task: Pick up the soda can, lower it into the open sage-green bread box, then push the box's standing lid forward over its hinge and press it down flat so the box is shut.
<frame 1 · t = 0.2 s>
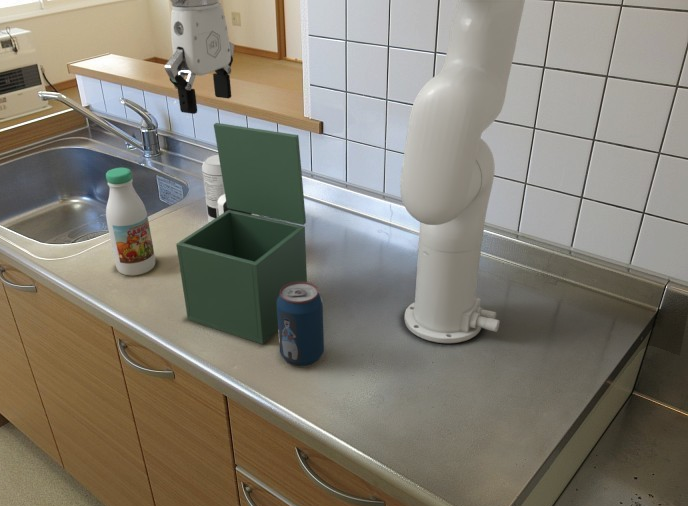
hand: (206, 104, 116), 31 cm above the counter, tool pointing down, fingers open, 9 cm apart
milk bottle: (136, 267, 133), on the counter
bread box lid: (260, 174, 110), point 23 cm above the counter, hinge at 85.0°
supplement can: (227, 224, 148), on the counter
container: (240, 256, 135), on the counter
bread box: (248, 310, 117), on the counter
soda can: (302, 357, 106), on the counter
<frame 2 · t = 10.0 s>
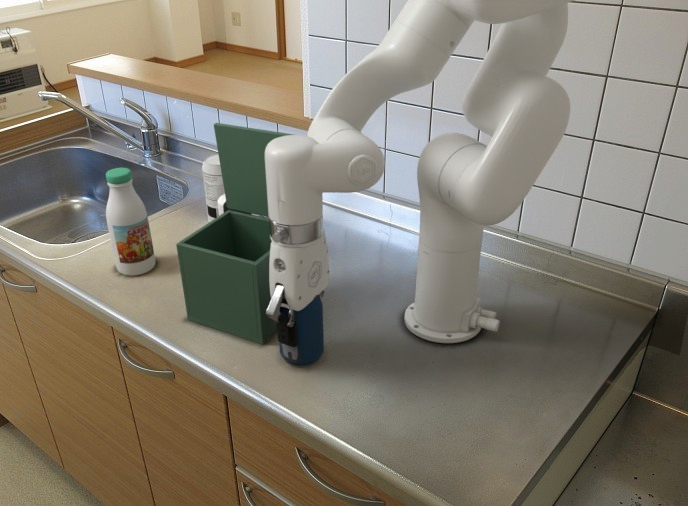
hand: (300, 330, 103), 5 cm above the counter, tool pointing down, fingers closed on soda can, 7 cm apart
soda can: (302, 357, 106), on the counter, touching gripper
everything else where it was.
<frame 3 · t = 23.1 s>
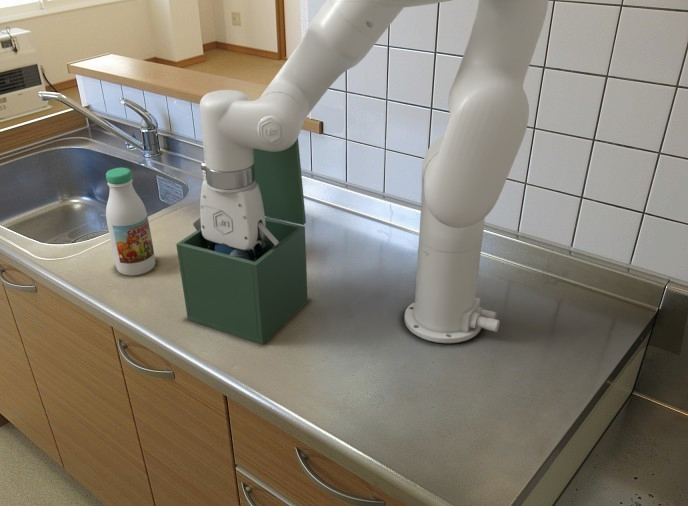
hand: (237, 274, 112), 8 cm above the counter, tool pointing down, fingers closed on soda can, 7 cm apart
bread box lid: (260, 174, 110), point 23 cm above the counter, hinge at 84.4°, touching arm
soda can: (239, 300, 115), point 3 cm above the counter, touching gripper
everything else where it was.
when the fingers open (10 cm above the counter, at t = 42.2 s): soda can drops 4 cm, resting on bread box.
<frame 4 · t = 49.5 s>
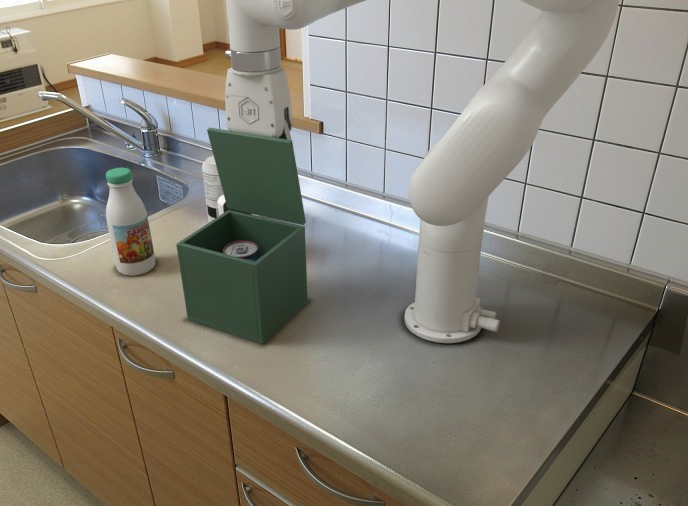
hand: (264, 174, 111), 22 cm above the counter, tool pointing down, fingers closed
bread box lid: (257, 176, 109), point 23 cm above the counter, hinge at 77.9°, touching gripper
soda can: (246, 310, 116), point 1 cm above the counter, touching bread box
everything else where it was.
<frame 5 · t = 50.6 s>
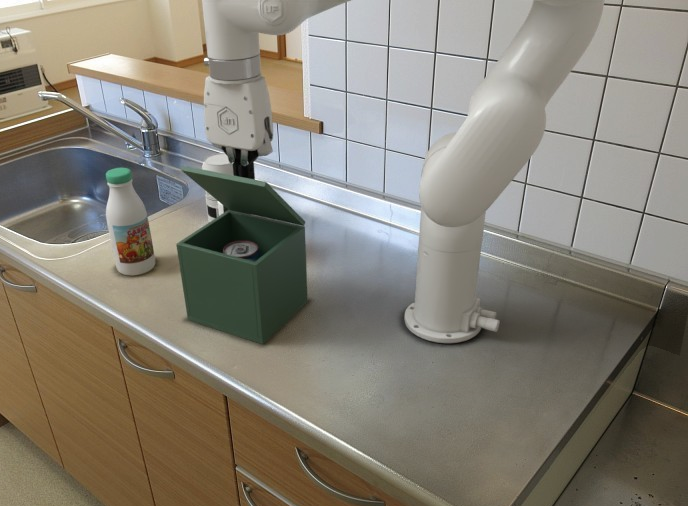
hand: (245, 185, 107), 23 cm above the counter, tool pointing down, fingers closed
bread box lid: (245, 196, 108), point 21 cm above the counter, hinge at 45.8°
everything else where it was.
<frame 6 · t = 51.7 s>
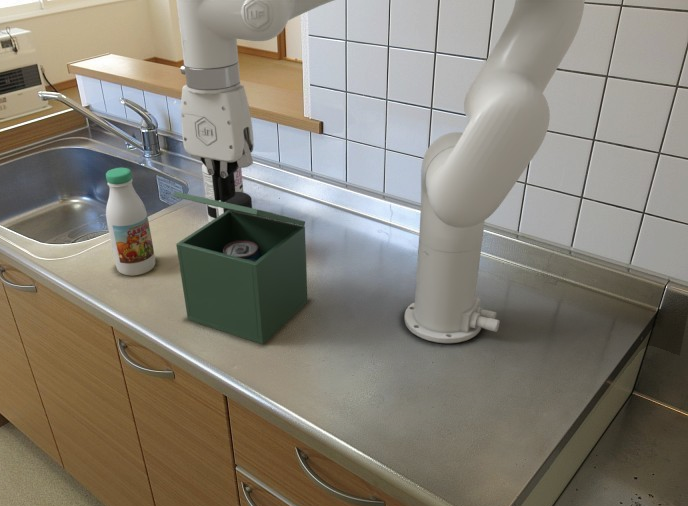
hand: (225, 198, 103), 23 cm above the counter, tool pointing down, fingers closed
bread box lid: (241, 209, 108), point 19 cm above the counter, hinge at 30.0°
everything else where it was.
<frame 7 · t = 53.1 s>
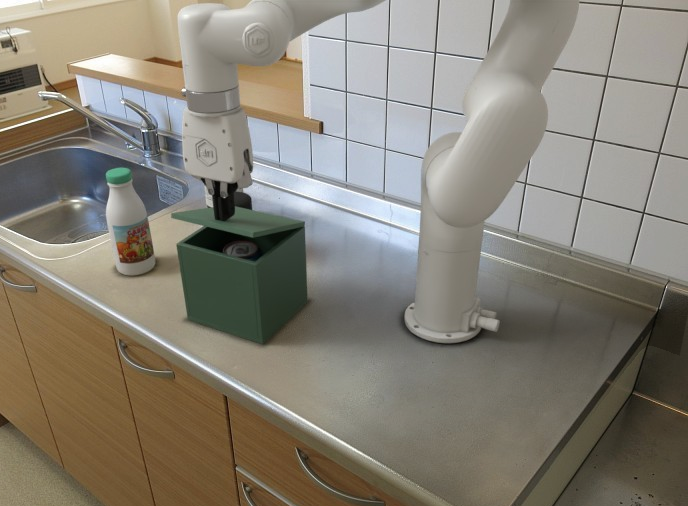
hand: (225, 217, 105), 19 cm above the counter, tool pointing down, fingers closed
bread box lid: (239, 219, 108), point 18 cm above the counter, hinge at 17.3°, touching gripper
everything else where it was.
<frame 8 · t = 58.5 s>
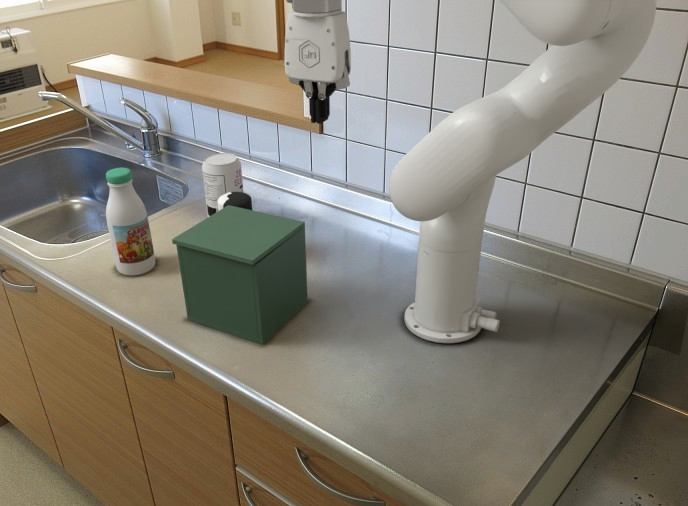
hand: (319, 120, 112), 29 cm above the counter, tool pointing down, fingers closed
bread box lid: (239, 232, 109), point 15 cm above the counter, hinge at 1.3°
everything else where it was.
at the end: soda can inside the target area in the bread box (0.9 cm from its centre), point 0.6 cm above the bread box's base; bread box lid at +1° (first picture: +85°) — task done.
